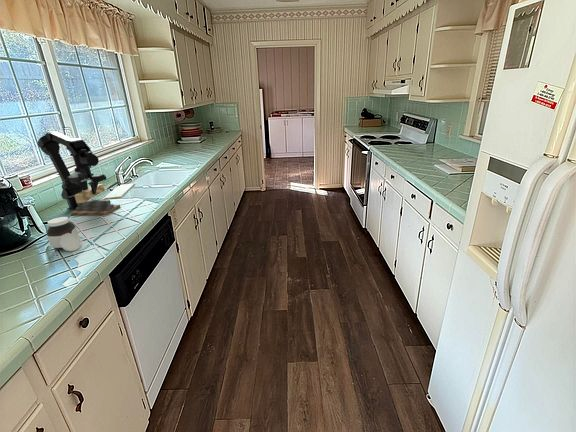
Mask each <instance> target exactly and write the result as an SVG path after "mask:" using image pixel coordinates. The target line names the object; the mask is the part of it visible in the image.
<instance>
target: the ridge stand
mask: <svg viewBox="0 0 576 432" xmlns="http://www.w3.org/2000/svg"><path fill="white" fill-rule="evenodd" d="M77 205H78V207H77V208H76V209H74V210H72V211H71V212H70V213H69V214H70V216H108V215H109V214H111V213H113V212H115V211H116V210H119V209H120V208H121V205H120V204H113V203H111V199H105V200H102V199H89V200H88V201H86V202H84V203H77Z"/></svg>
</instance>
